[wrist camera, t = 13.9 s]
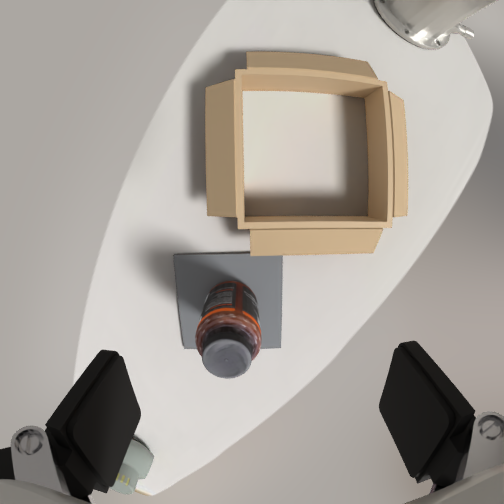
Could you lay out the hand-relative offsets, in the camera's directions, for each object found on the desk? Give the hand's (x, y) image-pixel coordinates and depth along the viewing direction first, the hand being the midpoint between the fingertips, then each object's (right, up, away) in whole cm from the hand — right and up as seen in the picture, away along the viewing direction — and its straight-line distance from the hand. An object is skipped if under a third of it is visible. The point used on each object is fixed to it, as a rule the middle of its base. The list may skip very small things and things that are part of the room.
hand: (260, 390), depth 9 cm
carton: (+6, +15, +21) cm, 26 cm away
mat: (-3, -2, +24) cm, 25 cm away
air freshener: (-22, -31, +31) cm, 49 cm away
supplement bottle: (-3, -1, +24) cm, 24 cm away
